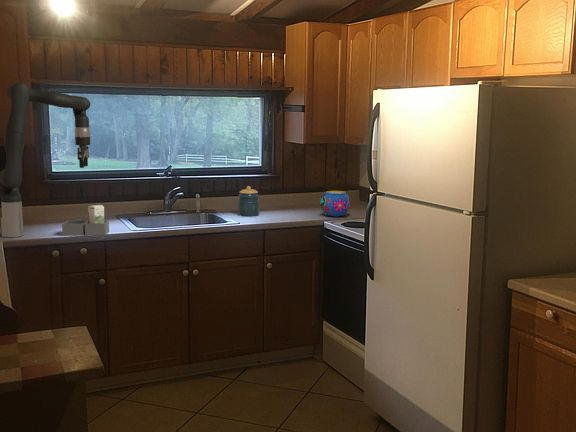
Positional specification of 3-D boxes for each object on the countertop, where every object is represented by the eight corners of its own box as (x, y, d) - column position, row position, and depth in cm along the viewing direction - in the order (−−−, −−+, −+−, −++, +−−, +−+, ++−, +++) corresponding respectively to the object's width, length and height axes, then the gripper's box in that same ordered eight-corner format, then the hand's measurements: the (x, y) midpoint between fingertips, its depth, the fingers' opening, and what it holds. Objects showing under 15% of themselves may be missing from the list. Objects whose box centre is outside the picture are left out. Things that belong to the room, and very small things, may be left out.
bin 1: (62, 235, 325) (62, 223, 324) (67, 232, 335) (66, 220, 334) (83, 235, 326) (82, 223, 325) (87, 231, 336) (86, 220, 335)
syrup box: (98, 232, 335) (97, 204, 333) (105, 233, 331) (104, 205, 329) (88, 233, 331) (87, 205, 328) (95, 235, 327) (94, 206, 325)
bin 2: (85, 235, 326) (84, 223, 325) (89, 231, 336) (88, 220, 335) (105, 235, 327) (105, 223, 326) (109, 231, 337) (108, 220, 336)
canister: (233, 215, 395) (233, 186, 392) (248, 212, 405) (248, 184, 402) (248, 217, 387) (248, 187, 384) (263, 214, 396) (263, 186, 394)
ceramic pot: (322, 213, 404) (322, 189, 401) (350, 214, 401) (351, 190, 398) (318, 218, 386) (319, 193, 384) (348, 219, 384) (349, 193, 381)
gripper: (78, 135, 345) (79, 165, 348) (71, 136, 331) (73, 168, 334) (92, 135, 346) (94, 166, 348) (86, 136, 332) (87, 168, 334)
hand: (83, 167), depth 341 cm, fingers open, 8 cm apart
